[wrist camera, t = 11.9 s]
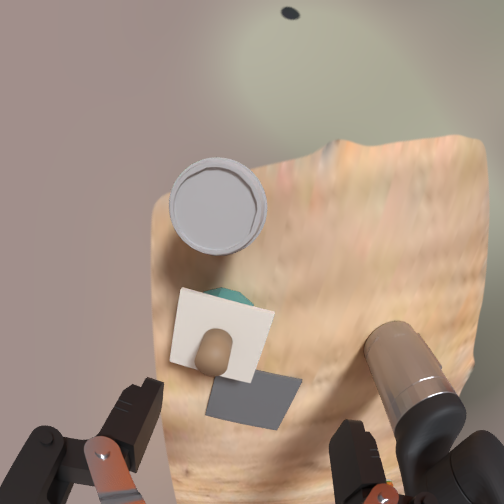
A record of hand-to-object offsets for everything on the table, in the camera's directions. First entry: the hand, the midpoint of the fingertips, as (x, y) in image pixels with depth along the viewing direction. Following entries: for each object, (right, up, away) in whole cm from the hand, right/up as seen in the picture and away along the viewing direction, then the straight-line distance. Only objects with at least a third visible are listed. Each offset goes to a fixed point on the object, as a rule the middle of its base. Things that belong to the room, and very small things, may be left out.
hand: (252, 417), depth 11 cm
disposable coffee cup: (-3, +14, +27) cm, 31 cm away
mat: (0, -19, +37) cm, 42 cm away
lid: (-5, -4, +28) cm, 29 cm away
